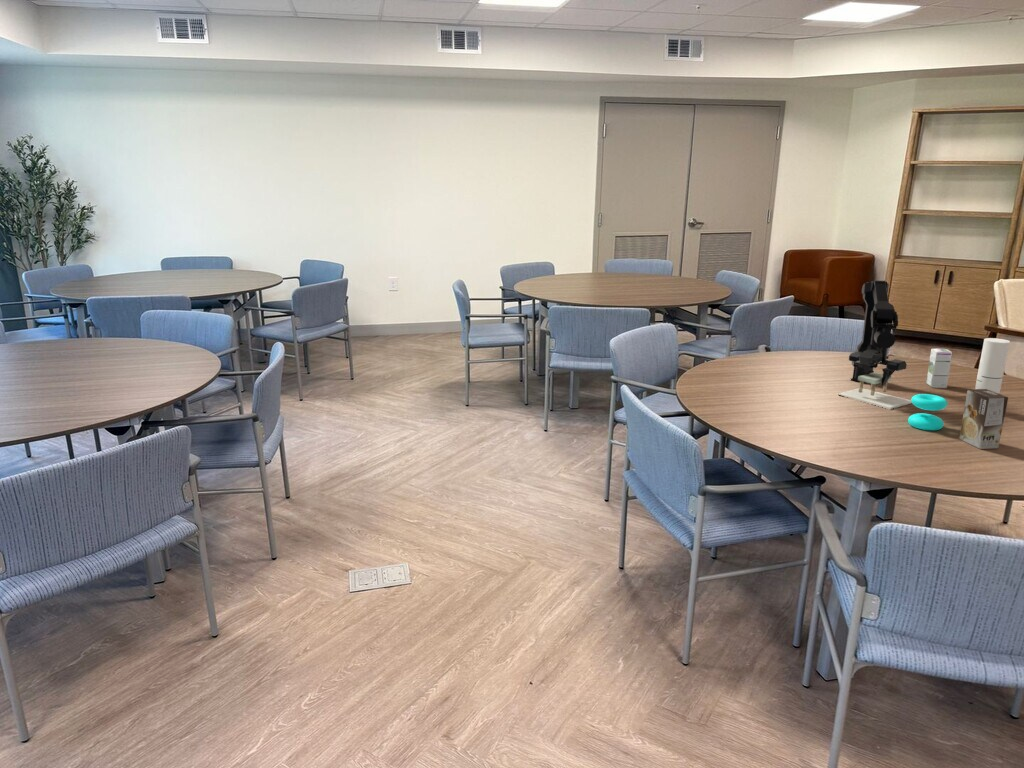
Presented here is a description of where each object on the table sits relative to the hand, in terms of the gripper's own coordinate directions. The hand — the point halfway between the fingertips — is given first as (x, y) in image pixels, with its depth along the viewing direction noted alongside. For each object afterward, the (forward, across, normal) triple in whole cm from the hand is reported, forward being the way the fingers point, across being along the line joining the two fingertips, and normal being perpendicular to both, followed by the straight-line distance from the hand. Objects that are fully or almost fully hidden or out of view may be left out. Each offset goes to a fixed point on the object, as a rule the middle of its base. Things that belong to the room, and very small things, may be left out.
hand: (873, 383), depth 247 cm
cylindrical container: (+6, +29, +19) cm, 35 cm away
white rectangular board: (+6, +1, 0) cm, 6 cm away
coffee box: (+6, +44, -16) cm, 47 cm away
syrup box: (+6, +4, +36) cm, 37 cm away
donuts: (+6, +27, -14) cm, 31 cm away
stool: (+3, 0, 0) cm, 3 cm away
